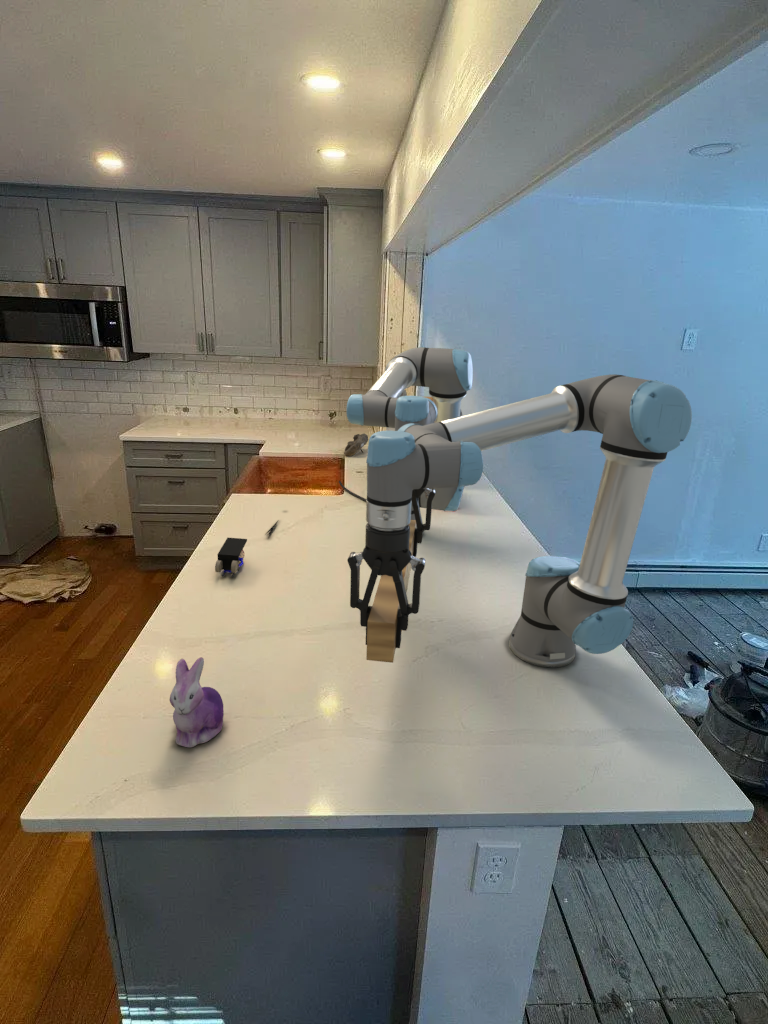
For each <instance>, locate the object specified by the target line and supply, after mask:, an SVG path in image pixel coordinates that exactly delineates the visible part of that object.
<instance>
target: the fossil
mask: <svg viewBox="0 0 768 1024" xmlns="http://www.w3.org/2000/svg"><path fill="white" fill-rule="evenodd" d="M352 439H353V440H350V441H349V440H348V442H347V445H346V446H345V448H344V453H343V454H344V456H345V457H351V456H353V455H356V454H357V453H358V452H359V451H360V452H362V453H364V451H363V450H362V449H363V448H364V446H365V445H367V443H368V442H369V435H368V434H366V433H365V432H364V433H361V434H360V433H357V434H354V435H353V437H352Z"/></svg>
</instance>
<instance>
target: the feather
mask: <svg viewBox="0 0 768 1024" xmlns="http://www.w3.org/2000/svg"><path fill="white" fill-rule="evenodd" d="M278 522H279V520H277V521H276V522H275V523H274V524H273V525H272V526H271V527H270V529H268V531H267V532H266V533H265V535H268V536H267V537H268V539H269V538H270V536H271V534H272V533H273V531H274V529H275V527H276V525H277V524H278Z"/></svg>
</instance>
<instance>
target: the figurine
mask: <svg viewBox="0 0 768 1024" xmlns="http://www.w3.org/2000/svg"><path fill="white" fill-rule="evenodd" d="M204 665H205V659H204V658H203V657H199V658H197V659H196V660H195V662H194V663H193V664H192V666H191V667H190V669H189V666H188V664H187V661H186V660H185V659H184V658H181V659H179V660H178V661H177V663H176V666H175V684H174V686H173V687H172V690H171V692H170V695H169V704H170V705H171V706H172V707H173V708H174V710H173V713H172V720H173V724H174V726H175V729H176V736H175V743H176V745H179V746H182V747H185V748H193V747H195V746H197V745H199V744H205V743H207V742H208V741H210V740H212V739H214V737H216V736H218V734H219V733H220V732H221V731H222V729H223V726H224V715H225V714H224V701H223V698H222V696H221V694H220V693H219V692H218V690H217V689H216V688H213V687H210V686H201V683H200V680H201V676H202V674H203V670H204Z"/></svg>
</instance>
